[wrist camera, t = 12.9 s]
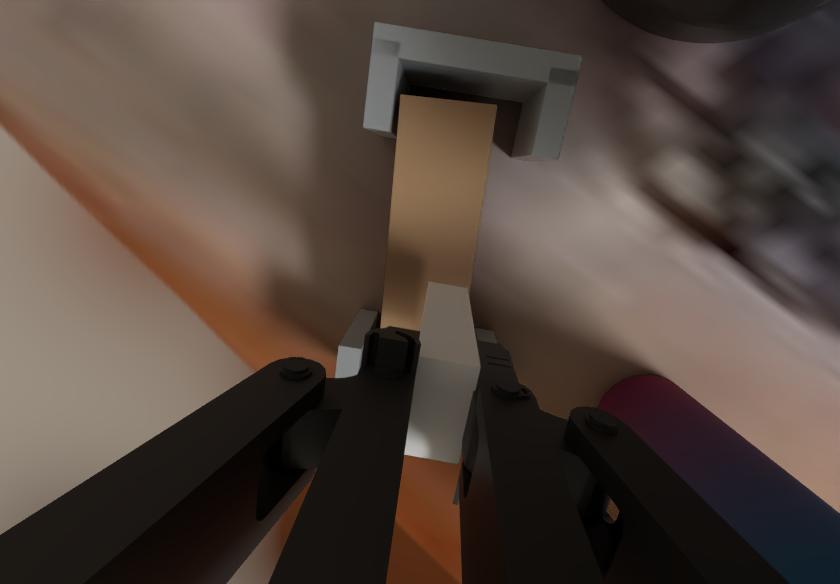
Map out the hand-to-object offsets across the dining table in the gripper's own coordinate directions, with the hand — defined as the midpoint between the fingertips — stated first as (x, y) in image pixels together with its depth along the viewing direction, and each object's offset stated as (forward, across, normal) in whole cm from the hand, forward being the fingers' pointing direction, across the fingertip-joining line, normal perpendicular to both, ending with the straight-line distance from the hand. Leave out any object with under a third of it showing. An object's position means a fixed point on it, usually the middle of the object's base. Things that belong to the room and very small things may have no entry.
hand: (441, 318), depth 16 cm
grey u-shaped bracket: (+7, 0, +8) cm, 10 cm away
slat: (+7, -1, +2) cm, 7 cm away
